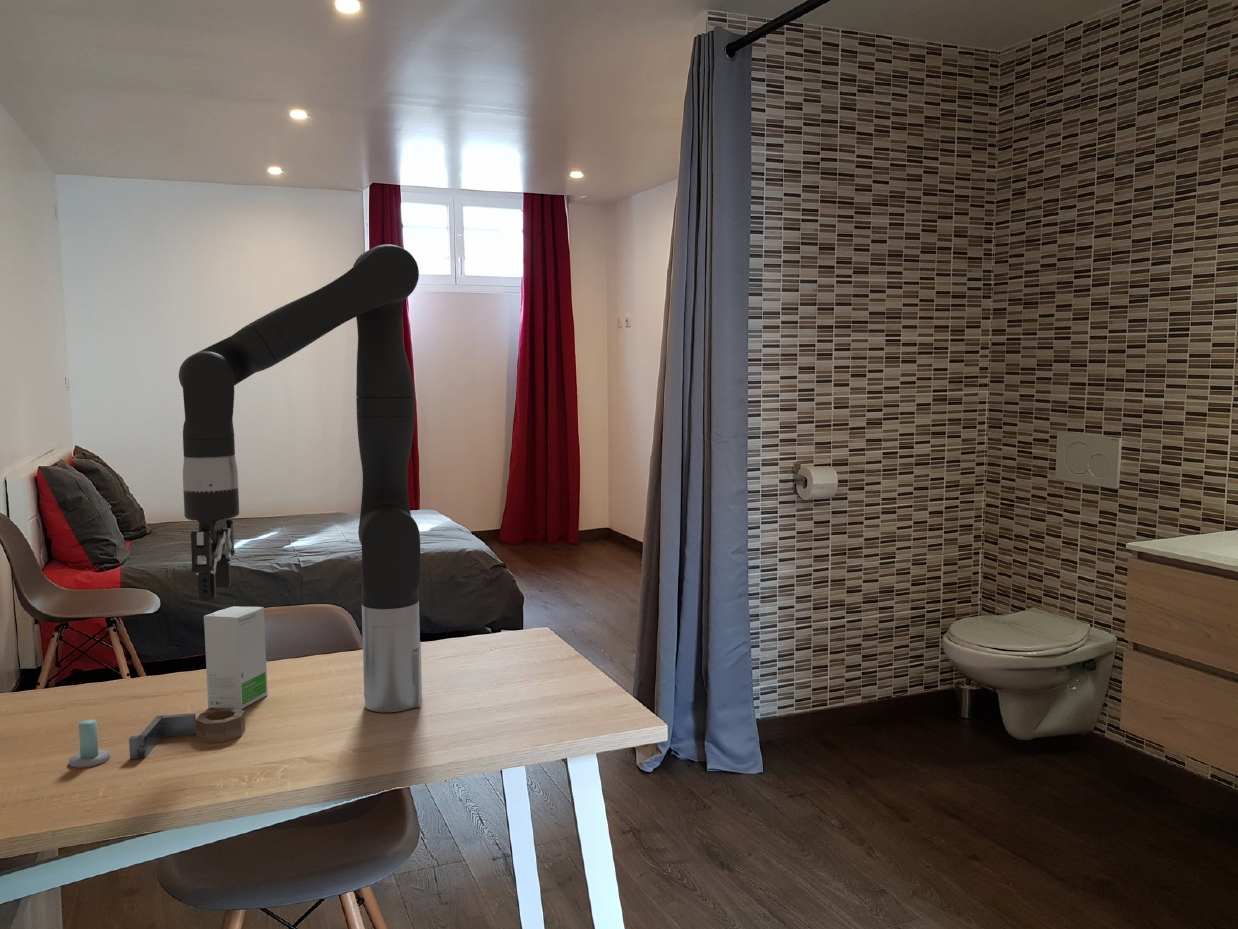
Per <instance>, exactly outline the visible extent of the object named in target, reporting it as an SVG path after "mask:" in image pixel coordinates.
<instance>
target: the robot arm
mask: <svg viewBox="0 0 1238 929" xmlns="http://www.w3.org/2000/svg"><path fill="white" fill-rule="evenodd" d="M419 278H420V271H419V267H418V262H417V260H416V259H415V258H414V256H413V255H412V253H410V252H409V251H408V250H407V249H405V248H403V247H401V246H399V245H395V244H381V245H380V244H379V245H376V246H374V247H372V248H370V249H368V250H366V251H364V252H363V253H361V254H360V255H359V256H358V257H357V258H356V260H355V261H354V264H353V265H352V268H350V269H349V270H348V271H346V272H345V273H343V274H342V275H341V276H339V277H338V278H336V279H334V280H333V281H330V283H328V284H326V285H324V286H322V287H320V288H319V289H317V290H315V291H312V292H311V293H309V294H306V295H304V296H302V297H300V298H297V299H295V300H293V301H291V302H289V303H286V304H284V305H282V306H280V307H278V308H276V309H274V310H272V311H270V312H269V313H266V314H265V315H263V316H261V317H259V318H257V319H255V320H254V321H252V322H250V323H248V324H247V325H245V326H243V327H242V328H240V329H239V330H237V331H236V332H235V333H233V334H232V335H230V336H227V337H226V338H224V339H222V340H220V341H218V342H216V343H214V344H211V345H210V346H209V345H208V346H207V347H205V348H203V349H201V350H199V351H197V352H195V353H193V354H192V355H189V356H188V357H187V358H186V359H185V360H183V362H182V363H181V364H180V366H179V371H178V380H179V384H180V386H181V388H182V397H183V407H184V417H185V418H184V421H183V426H182V449H183V450H182V451H183V463H182V464H183V465H182V488H183V489H182V490H183V492H182V493H183V509H184V513H183V514H184V517H185V519H187V520H189V521H197V522H198V529H197V530H198V531H197V530H195V531H191V533H190V542H191V544H190V545H191V547H190V548H191V549H190V550H191V553H190V554H191V573H192V574H195V575H196V576H197V578H198V579H197V583H198V598H199V600H201V601H212V600H214V599H216V598H217V588H228V587H229V586H231V584H232V580H231V579H232V578H231V562H232V560H233V557H234V555H235V553H236V551H235V541H234V526H233V525H234V520H233V518H236V517H238V516H239V515H240V500H239V499H240V497H239V473H238V466H237V460H236V455H235V454H236V448H235V446H236V444H235V431H234V430H235V429H234V423H233V422H234V420H233V417H234V405H235V386H236V385H238V384H240V383H241V382H243V381H245V379H248V378H249V377H251V376H252V375H254V374H257V373H259V372H263V371H265V370H267V369H270V368H272V367H273V366H275V365H277V364H279V363H280V362H282V361H284V360H286V359H288V358H289V357H291V356H292V355H294V354H296V353H298V352H300V351H301V350H302V349H305V348H306V347H308V346H309V345H310V344H312V343H314V342H316V341H317V340H319V339H320V338H322V337H323V336H325V335H326V334H328V333H330V332H331V331H333V330H334V329H336V328H338V327H340V326H341V325H343V324H345V323H346V322H348V321H351V320H352V319H354V318H356V326H357V327H356V328H357V329H356V330H357V349H356V350H357V351H356V389H355V390H356V391H355V392H356V393H355V394H356V396H355V397H356V399H355V400H356V423H357V424H356V426H357V438H358V440H357V441H358V448H359V449H358V450H359V456H360V462H361V471H362V472H361V474H362V487H361V488H362V490H361V501H360V502H361V503H360V514H359V523H358V529H357V530H358V533H357V534H358V540H359V542H360V545H361V566H362V567H361V568H362V569H361V572H362V577H361V578H362V582H361V590H360V594H361V623H362V626H361V628H362V660H363V665H362V666H363V685H364V686H363V697H364V707H365V709H367V710H369V711H371V712H372V711H373V712H375V713H376V712H377V713H396V712H403V711H407V710H410V709H414V708H415V709H417V708H421V705H422V697H423V681H422V651H421V650H422V643H421V640H420V637H421V634H420V633H421V632H420V586H421V534H420V529H419V525H418V524H417V522H416V520H415V518H413V517H412V513H411V507H410V500H409V499H410V498H409V488H408V471H409V470H408V469H409V462H410V458H411V452H412V446H413V441H414V432H415V417H416V416H415V413H416V412H415V390H414V388H415V387H414V381H413V376H412V371H411V367H410V363H409V360H408V357H407V352H406V348H405V344H404V340H403V308H404V300H405V299H408V297H410V296H411V295H412V293H413V292H414V291H415V289H416V287H417V284H418V282H419ZM204 562H206V563H204Z"/></svg>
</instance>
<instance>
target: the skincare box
mask: <svg viewBox="0 0 1238 929" xmlns="http://www.w3.org/2000/svg"><path fill="white" fill-rule="evenodd" d="M203 624H204V626H203V627H204V642H205V643H204V647H205V666H206V687H207V688H206V689H207V691H206V692H207V707H208V708H210V709H217V708H233V707H235V708H238V709H241V710H244V709H245V708H247V707H248V706H250V705H252V704H253V703H255V702H257V701H259V700H261V699H262V698H264V697H267V696H268V675H267V674H268V672H267V654H266V653H267V652H266V651H267V650H266V633H265V632H266V630H265V607H263V606H235V605H234V606H230V607H227V608H224V609H220V610H216V611H215V612H212V613H209V614H206V615H204V616H203Z"/></svg>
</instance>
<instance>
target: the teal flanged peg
mask: <svg viewBox="0 0 1238 929" xmlns="http://www.w3.org/2000/svg"><path fill="white" fill-rule="evenodd" d="M97 725H98V724H97V720H96V719H86V720H81V721H79V722H78V737H79V738H78V739H79V751H80V752H78V753H76V754H74V755H72V756H71V757H70V758H69V759H68V764H69V765H68V766H69V767H71V768H74V769H84V768H85V769H86V768H91V767H95V766H99V765H102V764H103V763H105V762H107V761H109V759H110V755H111V754H110V751H109V750H107V749H102V748H101V749H100V748H99V741H98V740H99V738H98V726H97Z"/></svg>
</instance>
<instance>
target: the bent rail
mask: <svg viewBox="0 0 1238 929" xmlns="http://www.w3.org/2000/svg"><path fill="white" fill-rule="evenodd" d="M196 719H197V718H196V713H181V714H164V715H163V714H161V715H156V716H155V717H154V718H153V720H152V721H151V722H150V723H149V724H148V725H147V726H146V728H144V729H143V731H142V732H140V734H139V735H131V736H130V737H129V738H128V743H129V744H128V745H129V747H128V748H129V760H135V759H146V758H147V756H148V755H149V754H150V753H151V752H152V751H153V749H154V748H155V747H156V746H157V744H158V743H159V742H160V741H161V740H162V739H163V738H166V737H179V736H180V737H181V736H195V734H196Z"/></svg>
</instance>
